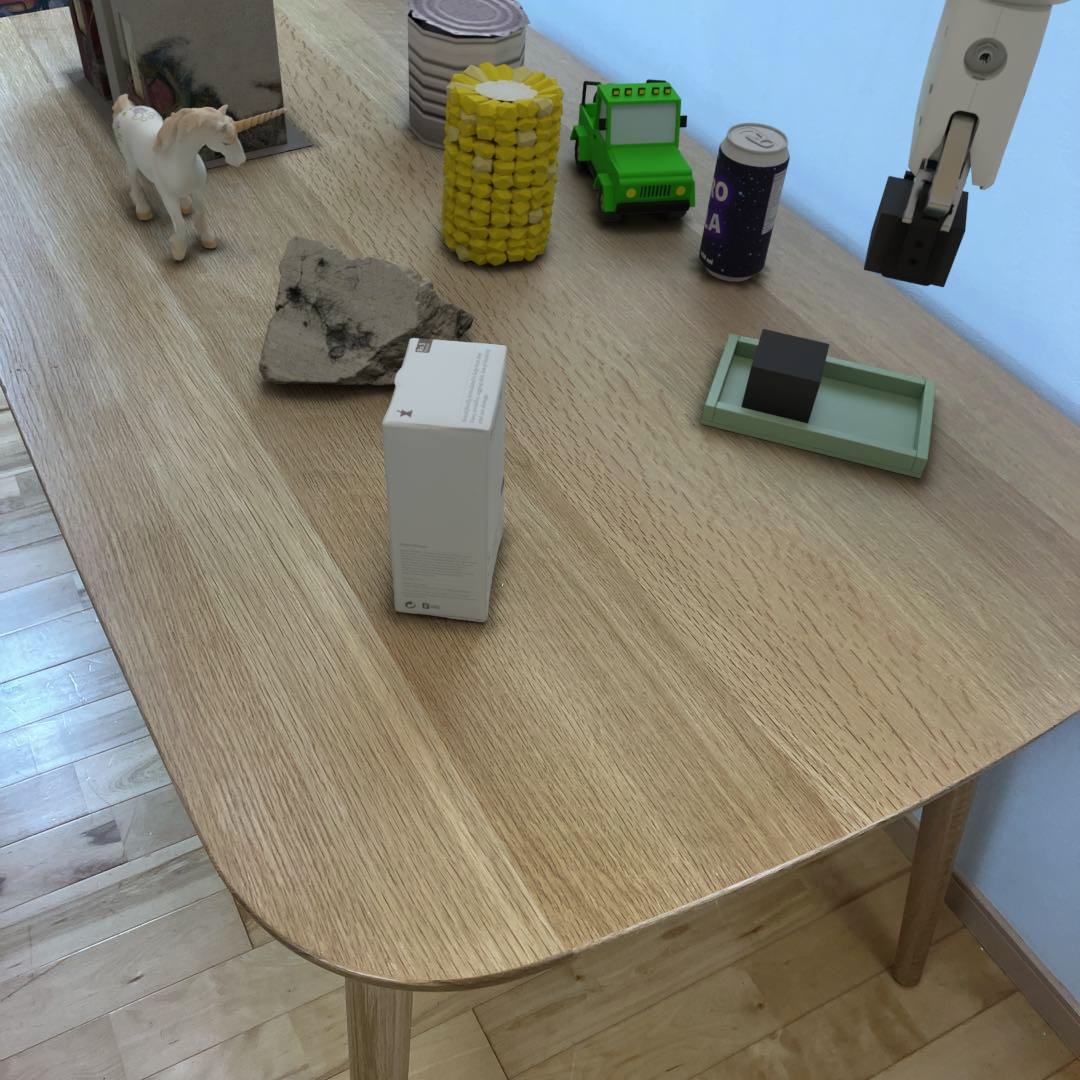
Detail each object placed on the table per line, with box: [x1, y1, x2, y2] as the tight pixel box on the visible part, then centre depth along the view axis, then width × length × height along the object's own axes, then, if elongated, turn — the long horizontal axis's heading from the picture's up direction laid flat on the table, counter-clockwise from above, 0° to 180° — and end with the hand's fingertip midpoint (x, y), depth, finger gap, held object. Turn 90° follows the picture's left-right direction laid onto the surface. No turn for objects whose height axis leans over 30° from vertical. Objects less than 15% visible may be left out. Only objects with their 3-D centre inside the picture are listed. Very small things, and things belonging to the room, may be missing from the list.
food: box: [440, 62, 565, 267], centre depth 93 cm, size 15×12×10 cm
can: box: [406, 0, 531, 151], centre depth 108 cm, size 11×11×12 cm
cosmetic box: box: [381, 338, 508, 623], centre depth 65 cm, size 8×6×15 cm
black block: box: [741, 328, 830, 424], centre depth 83 cm, size 5×5×4 cm
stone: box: [258, 235, 475, 386], centre depth 82 cm, size 12×17×10 cm
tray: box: [700, 333, 937, 479], centre depth 83 cm, size 16×10×2 cm, turn 72°
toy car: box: [569, 78, 696, 222], centre depth 102 cm, size 8×17×10 cm, turn 12°
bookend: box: [66, 0, 314, 170], centre depth 106 cm, size 16×25×16 cm, turn 33°
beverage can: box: [698, 122, 791, 283], centre depth 93 cm, size 6×6×12 cm
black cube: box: [863, 175, 969, 288], centre depth 70 cm, size 5×5×4 cm
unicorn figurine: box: [112, 94, 288, 261], centre depth 90 cm, size 7×20×13 cm, turn 54°
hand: (909, 253), depth 71 cm, fingers closed on black cube, 5 cm apart
